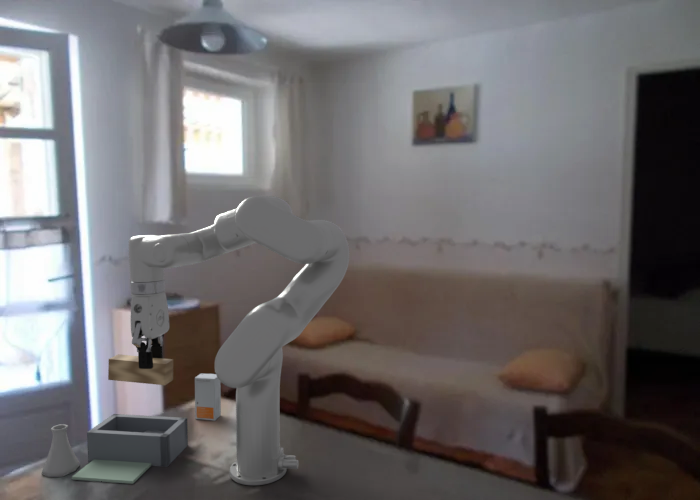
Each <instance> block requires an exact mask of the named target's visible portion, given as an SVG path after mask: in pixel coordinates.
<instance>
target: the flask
mask: <svg viewBox="0 0 700 500" xmlns="http://www.w3.org/2000/svg"><path fill="white" fill-rule="evenodd" d="M68 428H69V425H68V424H64V423H63V424H62V423H61V424H57V425H53V426H52V427H51V428H50V431H51V432H52V439H51V444H50V448H49V451H48V453H47V457H46V460H45V463H44V466H43V468H42V471H41V475H43V476H45V477H48V478H59V477H65V476H66V475H69V474H71V473H74V472H76V471H77V470H78V468H79V467H80V466H81V463H80V461H79V459H78V457H77V456H76V454H75V452H74V450H73V447H72V446H71V444H70V441H69V438H68V437H69V436H68V434H67V433H68V432H67V431H68Z"/></svg>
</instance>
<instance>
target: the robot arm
mask: <svg viewBox="0 0 700 500" xmlns="http://www.w3.org/2000/svg"><path fill="white" fill-rule="evenodd" d="M253 244H258V245H260V246H262V247H264V248H266V249H268V250H270V251H271V252H272V253H276V254H277V255H279V256H280V257H283V258H285V259H287V260H289V261H291V262H293V263H296V264H299V265H304V266H303V267H302V268H301V269H299V271H298V272H297V273H296V274H295V275H294V277H293V278H292V279H291V281H290V282H289V283H288V284H287V286H286V287H285V288H284V289H283V290H282V291H281V292H280V294H278V296H276V297H274V298H273V299H270V300H268V301H266V302H263V303H261V304H258V305H257V306H255V307H254V308H252V309H251V310H250V311H249V312H248V313H247V314H246V315H245V317H243V319H242V320H240V323H239V324H238V325H237V327H236V328H235V329H234V330H233V331H232V332H231V334H230V335H229V336H228V337H227V339H226V340H225V341H224V342H223V344H222V345H221V346H220V348H219V349H218V351H217V353H216V355H215V358H214V374H216V375H217V377H218V379H219V380H220V381H221V384H222V385H224V386H226V387H228V388H232V389H236V390H235V430H236V431H235V439H236V444H235V446H236V460H235V461H234V462H233V463H231V465H230V467H229V476H230V477H229V478H230V479H232V480H233V481H234V482H235V483H237V484H241V485H244V486H245V485H246V486H263V485H267V484H271V483H274V482H277V481H278V480H280V479H281V478H283V477H284V476H285V475H286V473H287V469H289V470H290V469H291V470H298V469H299V459H296V458H297V456H296V455H292V454H289V455H288V454H286V453H284V447H281V444H280V442H281V441H280V440H281V439H280V438H281V436H280V435H281V434H280V433H281V432H280V426H281V425H280V421H281V420H280V417H281V416H280V415H281V414H280V402H281V401H280V400H281V399H280V397H281V395H280V389H281V387H280V385H281V375H282V367H283V359H284V358H283V357H284V353H283V352H284V351H283V347H284V346H286V345H287V344H289V343H290V342H292V341H294V340H295V339H297V338H298V337H300V335H301V334H302V333H303V331H304V330H305V328H307V327H308V325H309V323H310V322H311V321H312V320H313V319H314V317H315V316H316V315H317V314H318V312H320V310H321V309H322V308H323V306H324V305H325V303H326V302H327V301H328V300H329V299H330V298H331V296H332V295H333V293H334V292H335V291H336V290H337V288H338V287H339V286H340V284H341V283H342V282H343V279H344V277H345V276H346V273H347V271H348V267H349V263H350V247H349V245H350V244H349V242H348V239H347V236H346V234H345V232H344V231H343V230H342V229H341V227H340V226H339V225H338V224H336V223H334V222H333V221H330V220H326V219H311V220H310V219H309V220H307V219H303V218H301V217H299V216H297V215H295V214H294V212H293V209H292V207H291V205H290V204H289V203H288V202H287V201H286V200H285V199H283V198H280V197H278V196H272V195H271V196H270V195H269V196H268V195H253V196H249V197H247V198H245V199H244V200H242V201H241V203H239V205H238V206H237V208H234V209H231V210H227V211H226V212H223V213H220V214H218V215H216V217H215V219H214V221H213V224H211V225H210V226H207V227H204V228H201V229H198V230H196V231H192V232H189V233H187V232H186V233H185V232H183V233H174V234H173V233H172V234H164V235H156V234H145V235H144V234H143V235H134V236H133V235H132V237H130V238H129V239H128V259H129V260H128V264H129V281H130V282H129V285H130V287H129V288H130V296H131V303H130V333H131V337H132V340H131V345H133V346H134V347H135V348H136V352H137V353H138V354H137V355H138V359H139V368H140V369H151V368H153V358H164V356H163V355H164V354H163V345H164V339H163V338H164V336H165V334H166V333H168V331H169V330H170V315H169V306H168V299H167V294H166V283H165V282H166V281H165V280H166V279H165V269H174V268H180V267H185V266H192V265H196V264H199V263H203V262H206V261H209V260H212V259H215V258H217V257H220V256H223V255H225V254H228V253H232V252H235V251H236V250H237V251H238V250H239V249H242V248H246V247H248V246H251V245H253Z"/></svg>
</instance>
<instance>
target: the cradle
mask: <svg viewBox="0 0 700 500" xmlns="http://www.w3.org/2000/svg"><path fill="white" fill-rule="evenodd" d="M188 433H189V432H188V417H179V416H178V417H175V416H162V415H161V416H160V415H140V414H125V413H124V414H121V413H113V414H111V415H110V416H109V417H107V418H106V419H104V420H102V421H101V422H100V423H98V424H97V425H95V426H93V427H92V428H90V429H89V430H88V431H87V432H86V440H87V442H86V446H87V462H88V463H90V462H91V461H93V460H94V459H96V460H111V461H126V462H141V463H151V467H164V468H167V467H168V466H169V465H171V463H172V462H174V460H176V458H178V456H180V454H181V453H182V452H183V451H184V450H185V449H186V448H187V447H188V446H189V445H188V444H189V441H188V440H189V438H188V437H189V436H188V435H189V434H188Z"/></svg>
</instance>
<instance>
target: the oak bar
mask: <svg viewBox="0 0 700 500" xmlns="http://www.w3.org/2000/svg"><path fill="white" fill-rule="evenodd" d="M107 367H108V372H107V373H108V374H107V376H108V377H107V379H108V381H117V382H125V383H126V382H127V383H138V384H147V385H148V384H149V385H157V386H158V385H159V386H166V385H168V384H169V383H171V382H172V381H173V380H174V358H172V359H171V358H164V357H163V358H153V368H151V369H140V368H139V359H138V356H137V355H128V354H116V355H114V356H112V357H110V358H108V366H107Z"/></svg>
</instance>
